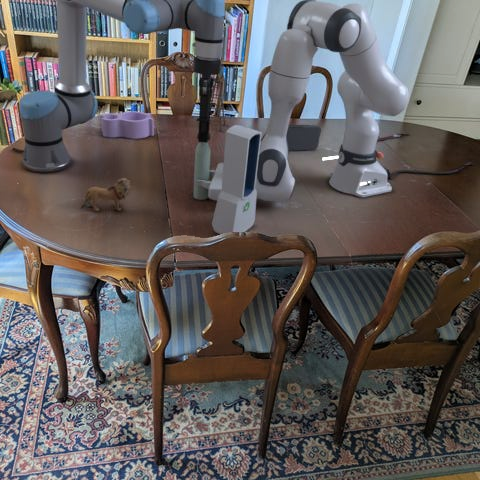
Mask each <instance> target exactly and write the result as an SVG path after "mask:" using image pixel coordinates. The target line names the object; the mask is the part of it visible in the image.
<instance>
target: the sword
mask: <svg viewBox="0 0 480 480" xmlns="http://www.w3.org/2000/svg"><path fill="white" fill-rule="evenodd" d="M401 134H402V133H396V134H392V135H389V136H383V137H378V139H377V142H381V141H384V140H389V139H393V138H400V137H402V136H406V135H409V134H404V135H401Z"/></svg>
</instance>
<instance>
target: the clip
mask: <svg viewBox="0 0 480 480" xmlns="http://www.w3.org/2000/svg"><path fill="white" fill-rule="evenodd" d="M100 122H101V133H102V136H103V137H104V138H105V137H106V138H118V137H119V138H120V137H121V138H126V139H133V140H134V139H136V140H137V139H144V138H147V137H154V136H155V119H154V118H153V117H152V113H151V112H147V113H146V112H142V111H134V110H133V111H132V110H131V111H123V112H119V113H114V112H113V113H112V112H111V113H109V112H107V113H103V114H101V115H100Z"/></svg>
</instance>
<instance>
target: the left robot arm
mask: <svg viewBox="0 0 480 480" xmlns="http://www.w3.org/2000/svg"><path fill="white" fill-rule="evenodd" d="M55 2H56V26H57V56H58V57H57V59H58V60H57V61H58V62H57V63H58V79H57V80H56V81H55V82H54V83H53V88H54V89H53V90H54V91H51V90H34V91H31V92H28V93H25V94H24V95H22V97H21V98H20V99H19V103H18V105H19V116H20V119H21V125H22V132H23V137H24V148H23V149H18V148H16V147H12V151H15V152H16V153H22V158H21V161H22V166H23V168H24V169H25V170H27V171H29V172H33V173H39V174H46V173H56V172H61V171H63V170H66V169H67V168H69V167H70V166H71V163H72V159H71V155H70V153H69V151H68V150H67V149H68V148H67V147H66V145H65V143H64V140H63V132H62V131H63V130H66V129H68V128H72V127H75V126H77V125H84V124H85V123H87V122H89V121H91V120H92V119H94V117H96V115H97V112H98V105H99V104H98V99H97V97H96V94H95V92H94V91H93V90H92V88H91V85H90V84H88V82H87V8H88V9H91V10H93V11H95V12H97V13H101V14H102V15H105V16H107V17H109V18H112V19H114V20H117V21H118V22H121V23H124V25H125V26H126V27H127V28H128V30H129V31H130V32H132V33H133V34H135V35H149V34H153V33H157V32H163V31H165V32H166V31H171V30H177V29H179V30H186V31H191V32H194V42H192V43H191V46H192V47H193V48H194V51H193V52H194V53H193V54H194V58H193V71H194V72H195V73H196V74H198V75H199V74H200V75H201V76H200V77H199V80H198V86H199V92H198V95H199V111H198V112H199V113H198V114H199V115H198V117H197V118H196V121H197V122H198V133H199V137H198V139H197V141H198V142H197V143H199V142H204V143H207V142H208V143H209V140H208V133H209V134H210V122H211V121H210V120H211V116H209V115H213V111H212V109H211V108H210V107H211V106H210V105H211V102H212V101H211V100H212V99H211V96H212V91H213V86H214V83H215V81H214V77H213V76H216V75H217V74H219V73H220V72H221V66H222V64H221V63H222V62H221V61H222V58H223V48H224V47H223V46H224V45H223V44H224V41H223V40H224V39H223V36H224V27H225V26H224V25H225V24H224V23H225V16H226V12H225V11H226V10H225V7H226V6H225V5H226V4H225V3H226V1H225V0H55ZM221 57H222V58H221ZM213 92H214V91H213ZM212 97H213V96H212ZM210 110H211V112H210Z"/></svg>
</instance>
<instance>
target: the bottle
mask: <svg viewBox="0 0 480 480" xmlns="http://www.w3.org/2000/svg"><path fill="white" fill-rule="evenodd" d="M211 152H212V151H211V147H210V145H209V141H208V142H207V143H204V142H197V145H196V147H195V149H194V168H193V169H194V171H193V173H194V174H193V193H192V194H193V195H192V196H193V198H194V199H196V200H198V201H199V200H200V201H202V200H206V199H209V197H208V191H209V189H206V188H205V187H203V186H198V185H197V179H198V178H200V179H203V180H205V181H210V177H209V170H211V169H210V168H211V167H210V166H211Z"/></svg>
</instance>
